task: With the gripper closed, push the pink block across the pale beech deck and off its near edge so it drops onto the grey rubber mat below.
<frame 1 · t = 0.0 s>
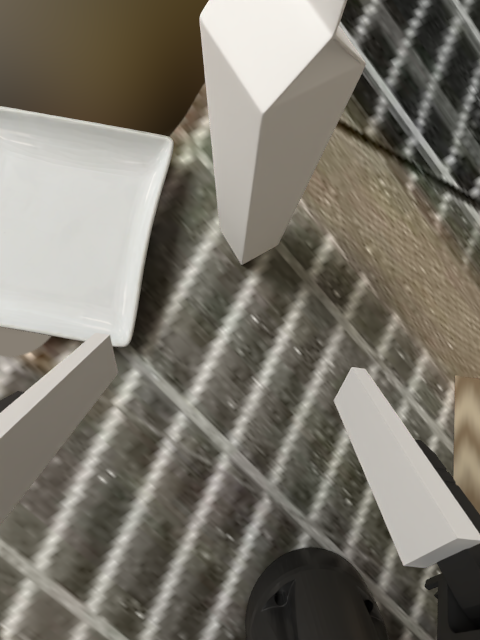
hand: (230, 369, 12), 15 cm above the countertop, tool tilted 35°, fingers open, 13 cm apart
square plate: (64, 233, 28), on the countertop
milk: (248, 238, 29), on the countertop
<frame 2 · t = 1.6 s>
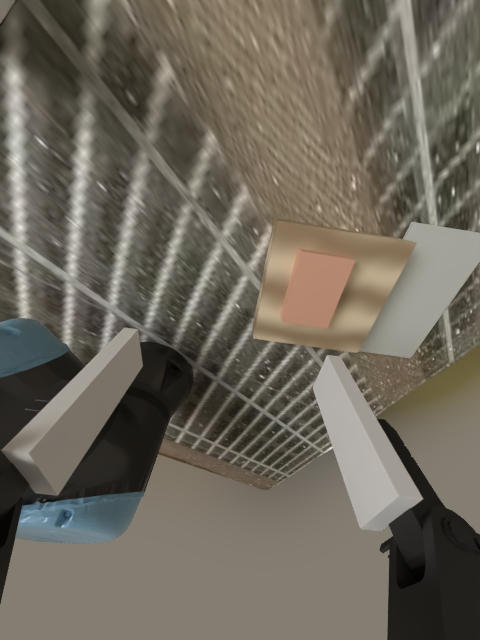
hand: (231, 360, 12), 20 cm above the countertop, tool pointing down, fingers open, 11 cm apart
mat: (410, 300, 31), on the countertop
deck: (315, 286, 31), on the countertop
pink block: (311, 287, 26), point 4 cm above the countertop, touching deck
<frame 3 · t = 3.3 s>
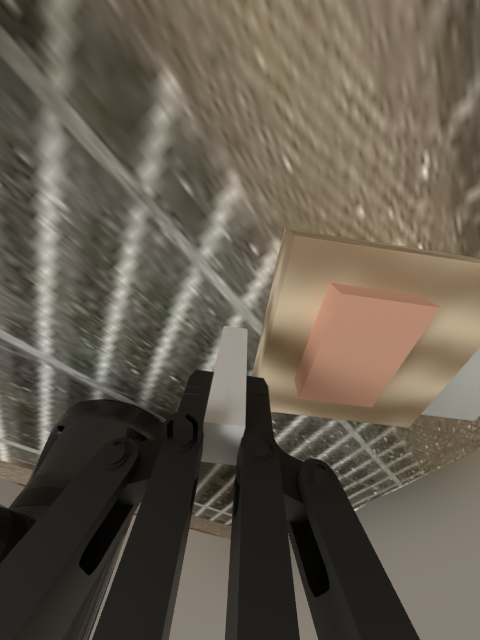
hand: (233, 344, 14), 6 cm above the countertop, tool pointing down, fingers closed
deck: (345, 329, 20), on the countertop
pink block: (347, 342, 16), point 4 cm above the countertop, touching deck
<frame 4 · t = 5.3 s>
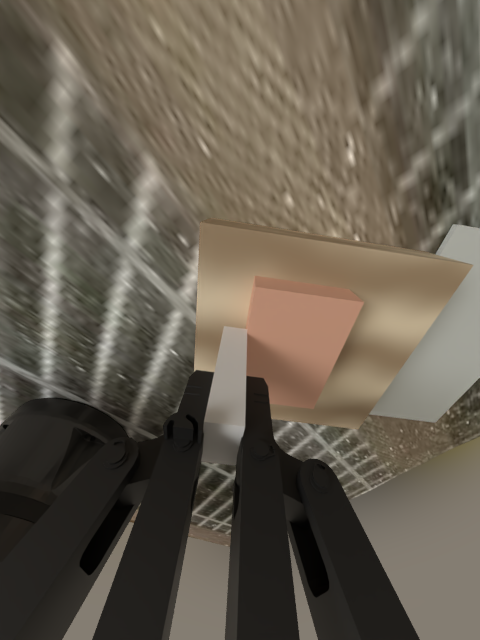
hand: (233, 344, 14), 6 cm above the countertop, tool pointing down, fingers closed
mat: (440, 347, 20), on the countertop
deck: (291, 326, 19), on the countertop
pink block: (284, 340, 15), point 4 cm above the countertop
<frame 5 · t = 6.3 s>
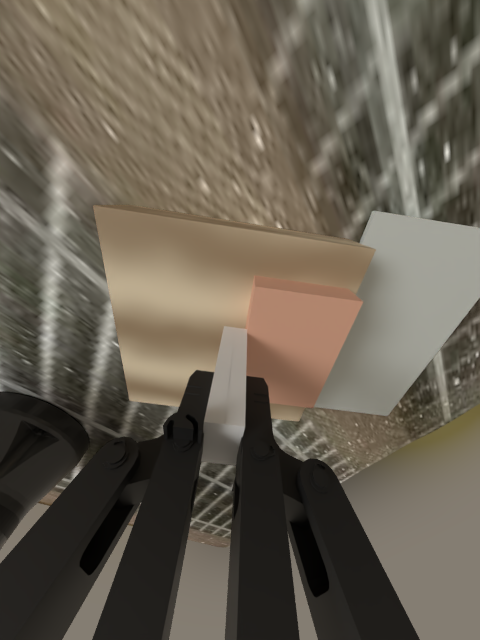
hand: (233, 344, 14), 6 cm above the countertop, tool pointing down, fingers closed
mat: (380, 338, 20), on the countertop
deck: (228, 317, 19), on the countertop
pink block: (284, 340, 15), point 4 cm above the countertop, touching deck, gripper
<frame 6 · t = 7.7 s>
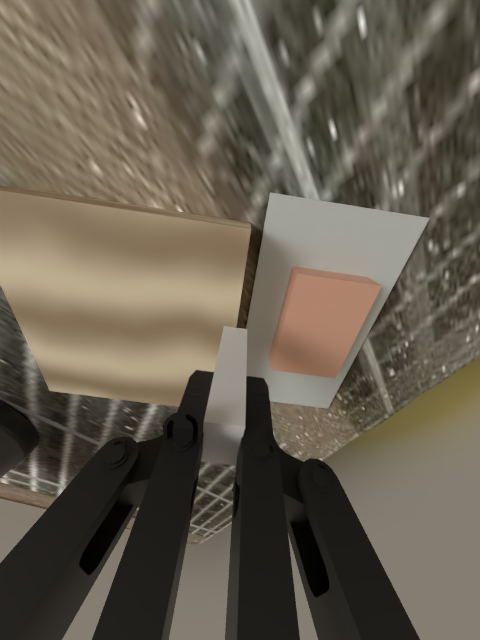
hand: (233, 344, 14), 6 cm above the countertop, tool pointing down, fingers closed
mat: (306, 327, 19), on the countertop
deck: (149, 305, 19), on the countertop
pink block: (319, 333, 17), point 2 cm above the countertop, tilted 180°, touching mat
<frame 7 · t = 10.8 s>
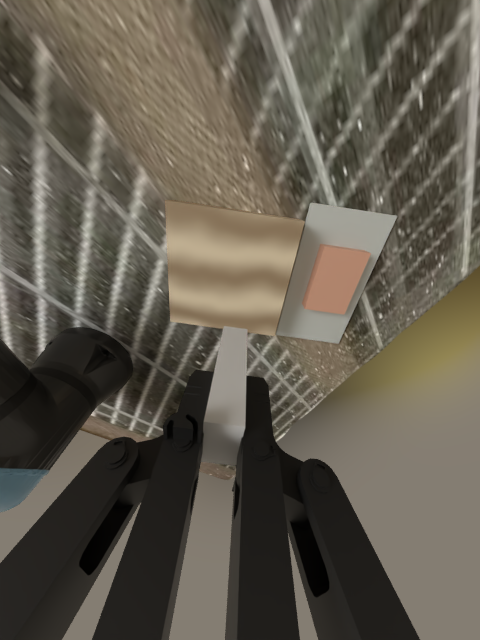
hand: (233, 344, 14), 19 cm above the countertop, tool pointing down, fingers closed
mat: (326, 283, 31), on the countertop
deck: (230, 269, 31), on the countertop
pink block: (335, 283, 29), point 2 cm above the countertop, tilted 180°, touching mat
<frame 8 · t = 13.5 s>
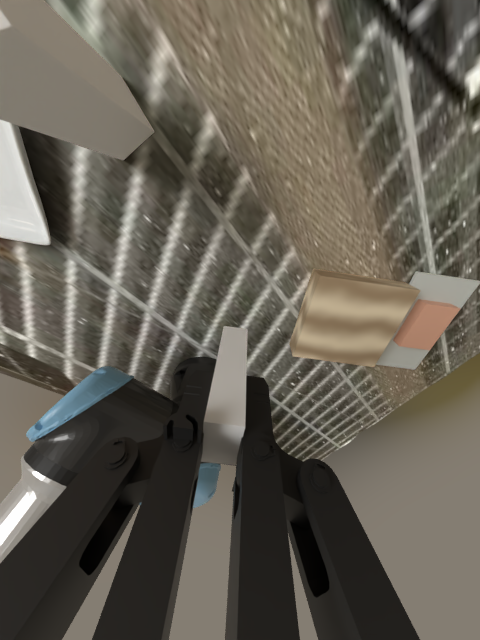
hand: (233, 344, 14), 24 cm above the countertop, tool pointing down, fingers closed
mat: (414, 326, 40), on the countertop
deck: (341, 315, 39), on the countertop
pink block: (428, 328, 37), point 2 cm above the countertop, tilted 180°, touching mat
milk: (123, 122, 27), on the countertop
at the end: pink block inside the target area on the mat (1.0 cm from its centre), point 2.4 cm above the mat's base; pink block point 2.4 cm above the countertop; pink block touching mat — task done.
